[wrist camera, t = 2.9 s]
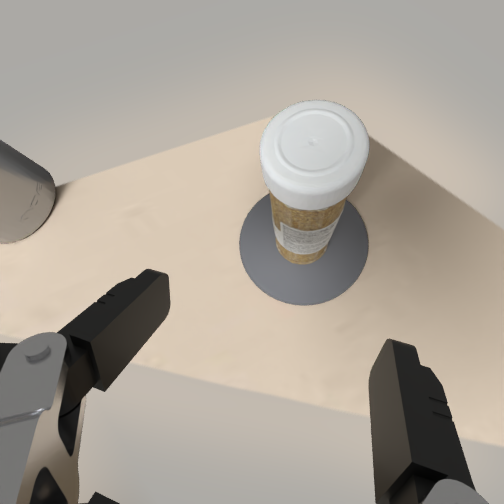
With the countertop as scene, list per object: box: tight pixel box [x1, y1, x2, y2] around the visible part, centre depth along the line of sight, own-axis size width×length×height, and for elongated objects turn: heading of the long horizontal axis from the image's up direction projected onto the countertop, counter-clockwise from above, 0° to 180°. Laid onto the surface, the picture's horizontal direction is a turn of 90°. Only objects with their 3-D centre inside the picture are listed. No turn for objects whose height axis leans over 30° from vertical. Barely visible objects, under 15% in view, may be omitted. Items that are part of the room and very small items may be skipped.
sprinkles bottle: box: [260, 100, 369, 265], centre depth 18 cm, size 5×5×13 cm
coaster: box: [239, 193, 368, 305], centre depth 24 cm, size 11×11×1 cm
